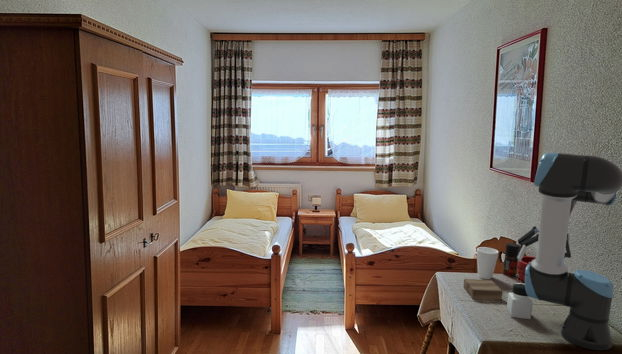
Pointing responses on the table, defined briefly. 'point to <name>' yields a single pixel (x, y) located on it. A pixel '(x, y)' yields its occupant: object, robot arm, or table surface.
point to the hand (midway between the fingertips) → (535, 264)
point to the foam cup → (486, 262)
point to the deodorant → (511, 259)
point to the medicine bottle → (519, 302)
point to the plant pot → (523, 268)
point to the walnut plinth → (482, 289)
